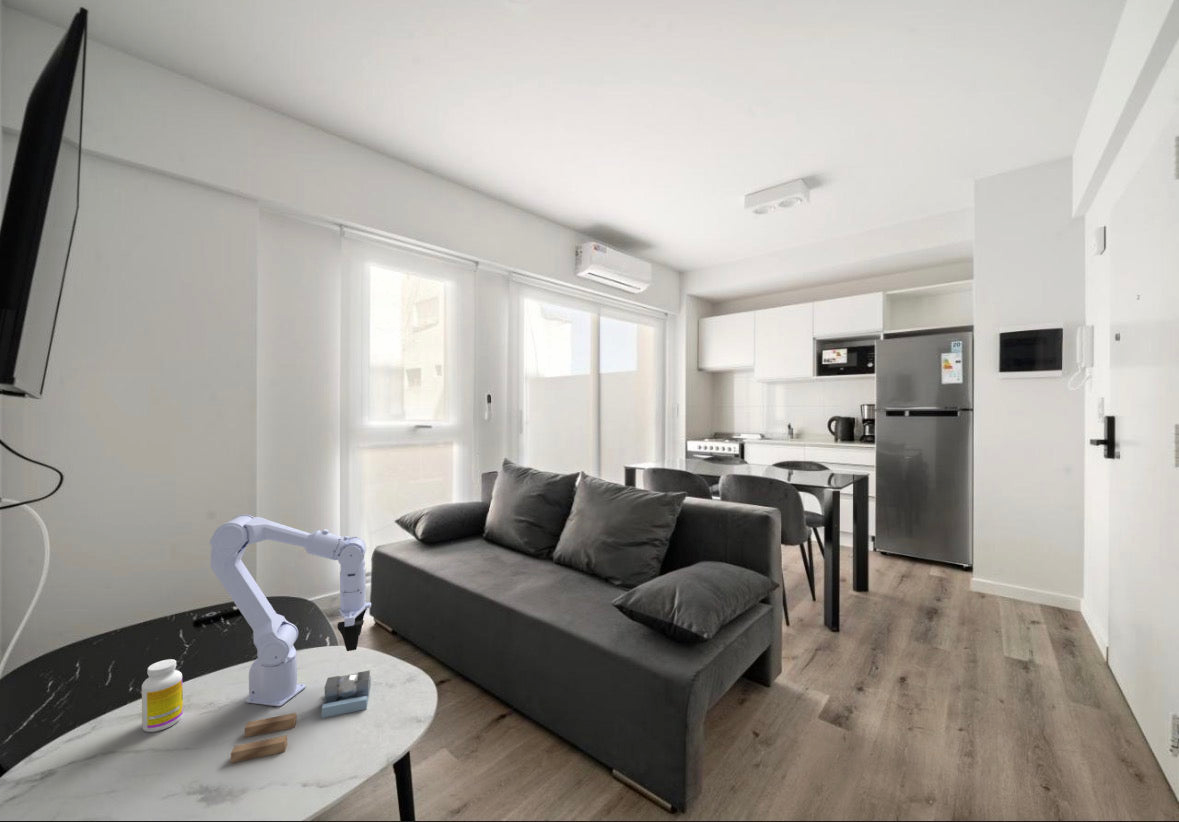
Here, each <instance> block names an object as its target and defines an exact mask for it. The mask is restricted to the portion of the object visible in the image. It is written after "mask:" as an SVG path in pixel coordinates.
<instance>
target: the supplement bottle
mask: <svg viewBox="0 0 1179 822" xmlns="http://www.w3.org/2000/svg"><path fill="white" fill-rule="evenodd" d="M176 668H177V660H175V659H172V658H168V659H164V660H160V661H157V662H155V663H152V664H150V665H149V666H148V667H147V675H148V677H147V678H146V679H145V680H144V681H143V682H142V684H141V722H142V723H141V724H142V730H143V731H144V732H147V733H153V732H154V733H155V732H160V731H162V730H165V729H168V728H170V727H172V726H174V725H176V724H177V723H178V722H180V720H181V719H183V716H184V697H183V696H184V695H183V694H184V692H183V673H182V672H181V671H180V670H177V669H176Z"/></svg>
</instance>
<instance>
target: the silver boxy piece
mask: <svg viewBox="0 0 1179 822" xmlns="http://www.w3.org/2000/svg"><path fill="white" fill-rule="evenodd" d="M370 671H371V670H370V669H369V670H364V671H359V672H357V673H351V674H345V675H336V676H330V677H327V679H326V682H325V684H324V704H327V703H332V702H337V701H338V699H340V698H345V697H351V696H356V698H358V697H363V696H367V697H368V695H369V696H370V693H369V690H371V687H370V676H371V672H370Z"/></svg>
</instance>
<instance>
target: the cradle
mask: <svg viewBox="0 0 1179 822" xmlns="http://www.w3.org/2000/svg"><path fill="white" fill-rule="evenodd" d="M371 686H372V676H371V675H370V688H371ZM370 690H371V689H370ZM370 690H369V695H368V697H367V696H363V697H358V698H356V696H351V697H345V698H340V699H338V701H337V702H332V703H327V704H325V703H323V704H322V707H321V719H323V718H329V717H333V716H339V715H344V714H348V713H353V712H354V713H355V712H359V711H364V710H365V711H366V710H367V709H368V703H369V697H370V692H371V691H370Z"/></svg>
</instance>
